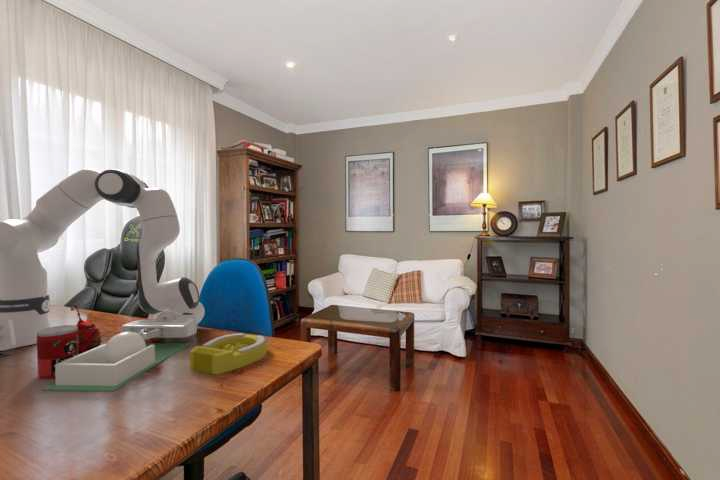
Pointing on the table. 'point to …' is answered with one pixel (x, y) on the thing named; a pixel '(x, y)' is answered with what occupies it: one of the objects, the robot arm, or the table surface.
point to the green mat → (160, 354)
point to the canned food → (55, 348)
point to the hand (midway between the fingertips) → (141, 336)
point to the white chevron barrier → (101, 367)
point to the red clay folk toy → (87, 334)
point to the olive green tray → (227, 353)
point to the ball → (123, 346)
